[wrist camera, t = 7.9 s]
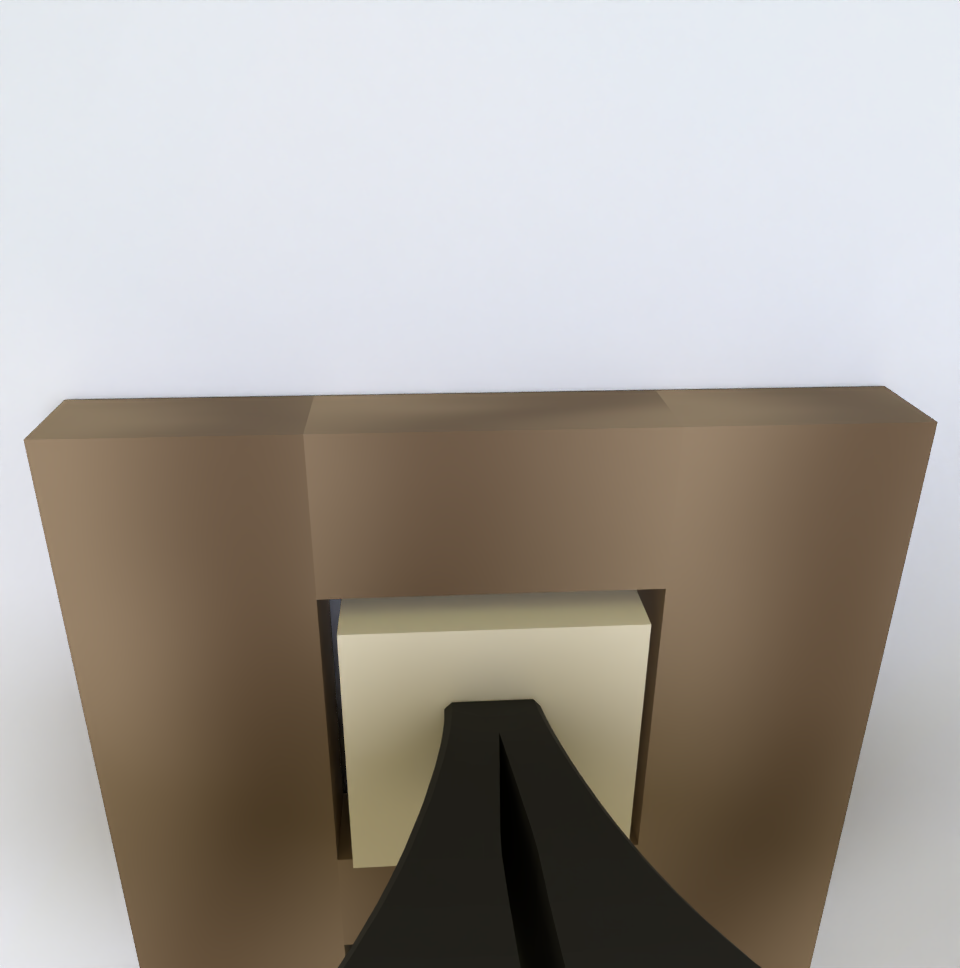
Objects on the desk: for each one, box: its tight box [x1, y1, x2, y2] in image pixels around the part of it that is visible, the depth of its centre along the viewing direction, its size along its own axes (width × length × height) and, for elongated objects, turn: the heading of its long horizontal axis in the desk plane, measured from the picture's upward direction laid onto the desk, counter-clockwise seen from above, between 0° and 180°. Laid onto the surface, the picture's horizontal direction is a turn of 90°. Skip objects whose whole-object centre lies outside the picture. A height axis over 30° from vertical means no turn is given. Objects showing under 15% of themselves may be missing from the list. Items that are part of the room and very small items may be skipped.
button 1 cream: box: [337, 590, 651, 868], centre depth 14 cm, size 4×4×2 cm
